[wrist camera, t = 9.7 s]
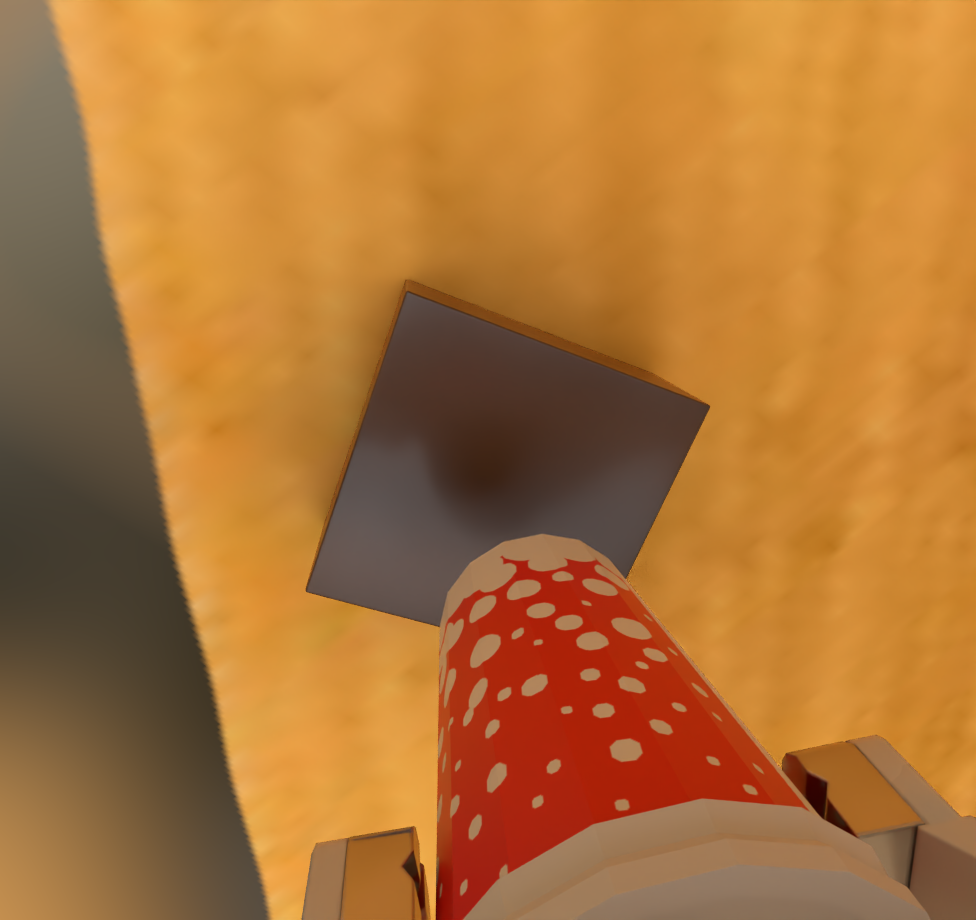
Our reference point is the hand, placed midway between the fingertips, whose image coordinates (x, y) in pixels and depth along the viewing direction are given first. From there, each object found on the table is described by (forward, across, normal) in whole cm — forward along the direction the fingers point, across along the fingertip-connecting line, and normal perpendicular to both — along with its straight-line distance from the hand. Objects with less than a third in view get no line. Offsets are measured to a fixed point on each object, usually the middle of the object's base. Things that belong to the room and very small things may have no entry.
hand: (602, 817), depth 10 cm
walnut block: (+16, 0, -1) cm, 16 cm away
